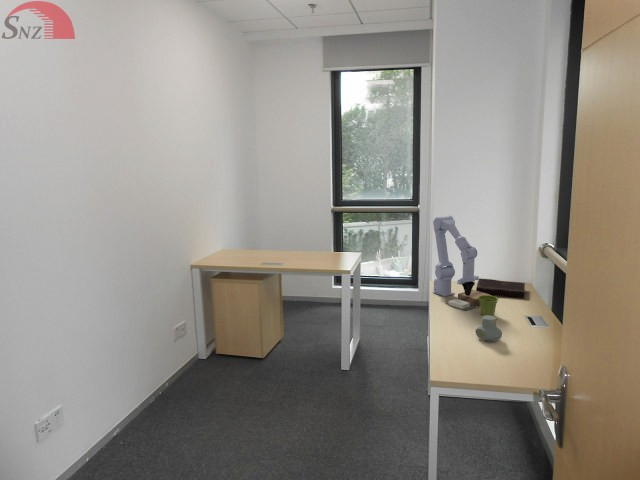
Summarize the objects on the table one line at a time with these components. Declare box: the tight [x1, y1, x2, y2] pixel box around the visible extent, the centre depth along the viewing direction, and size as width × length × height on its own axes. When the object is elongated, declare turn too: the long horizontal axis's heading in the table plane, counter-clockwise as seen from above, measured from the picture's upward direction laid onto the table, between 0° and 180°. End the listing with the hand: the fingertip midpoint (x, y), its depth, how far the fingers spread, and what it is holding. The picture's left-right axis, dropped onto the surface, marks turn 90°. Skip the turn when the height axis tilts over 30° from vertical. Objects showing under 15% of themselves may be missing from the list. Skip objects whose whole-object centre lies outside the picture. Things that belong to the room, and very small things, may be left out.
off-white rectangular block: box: [448, 298, 470, 310], centre depth 247 cm, size 9×6×2 cm, turn 34°
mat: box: [445, 301, 478, 312], centre depth 248 cm, size 14×8×1 cm, turn 33°
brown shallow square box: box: [457, 289, 491, 308], centre depth 254 cm, size 12×12×4 cm
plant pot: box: [478, 295, 499, 317], centre depth 233 cm, size 9×9×9 cm
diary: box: [475, 277, 526, 300], centre depth 269 cm, size 19×25×5 cm
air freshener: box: [475, 315, 503, 343], centre depth 205 cm, size 11×8×10 cm
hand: (467, 295), depth 250 cm, fingers closed
